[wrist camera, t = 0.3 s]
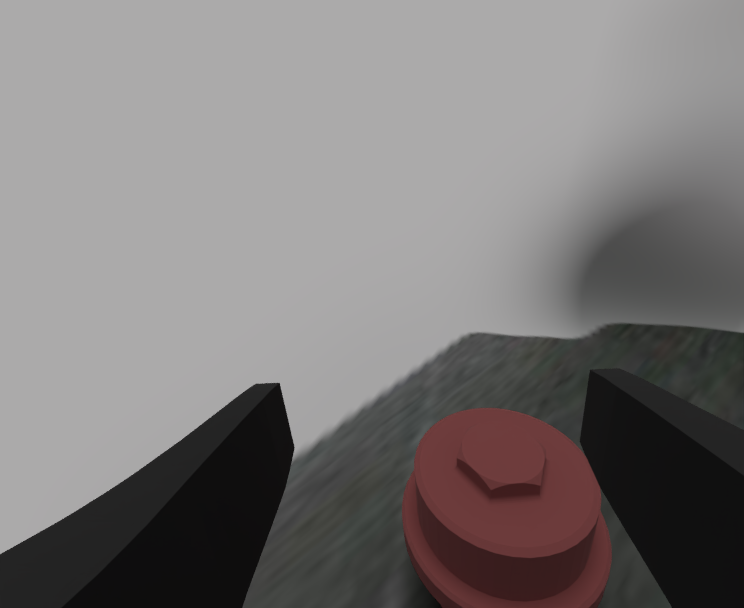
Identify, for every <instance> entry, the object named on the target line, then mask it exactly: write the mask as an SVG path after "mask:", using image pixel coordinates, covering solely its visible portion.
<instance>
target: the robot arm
mask: <svg viewBox="0 0 744 608" xmlns="http://www.w3.org/2000/svg"><path fill="white" fill-rule="evenodd" d="M580 443H581V446H582V448H583V450H584V453H585V455H586V457H587V460H588V462H589V464H590V467H591V469H592V471H593V473H594V475H595V477H596V480H597V482H598V484H599V486H600V488H601V489H602V491H603V493H604V495H605V496H606V498H607V500H608V501H609V503H610V505H611V506H612V508H613V510H614V512H615V513H616V515H617V517H618V518H619V520H620V522H621V523H622V525H623V527H624V528H625V530H626V532H627V533H628V535H629V537H630V538H631V540H632V542H633V543H634V545H635V546H636V548H637V550H638V551H639V553H640V555H641V556H642V558H643V560H644V561H645V563H646V565H647V566H648V568H649V570H650V571H651V573H652V575H653V576H654V578H655V580H656V581H657V583H658V585H659V586H660V588H661V590H662V591H663V593H664V595H665V596H666V598H667V600H668V601H669V603H670V605H671V607H672V608H744V430H742V429H740V428H738V427H736V426H734V425H732V424H730V423H728V422H726V421H724V420H722V419H720V418H718V417H716V416H714V415H713V414H711V413H709V412H707V411H705V410H703V409H701V408H699V407H697V406H695V405H693V404H691V403H689V402H687V401H685V400H683V399H681V398H679V397H677V396H675V395H673V394H671V393H669V392H668V391H666V390H664V389H662V388H660V387H658V386H656V385H654V384H652V383H650V382H648V381H646V380H644V379H642V378H639V377H637V376H635V375H633V374H631V373H629V372H626V371H624V370H622V369H596V370H590V374H589V381H588V388H587V395H586V402H585V409H584V416H583V423H582V430H581V437H580ZM293 453H294V444H293V439H292V436H291V431H290V427H289V422H288V418H287V413H286V409H285V405H284V400H283V396H282V392H281V387H280V383H265V384H255V385H253V386H252V387H250V388H249V389H247V390H246V391H245V392H243V393H242V394H241V395H239V396H238V397H237V398H235V399H234V400H233V401H231V402H230V403H229V404H228V405H226V406H225V407H224V408H222V409H221V410H220V411H219V412H217V413H216V414H215V415H213V416H212V417H211V418H209V419H208V420H207V421H205V422H204V423H203V424H202V425H200V426H199V427H198V428H197V429H195V430H194V431H192V432H191V433H190V434H189V435H187V436H186V437H185V438H183V439H182V440H181V441H179V442H178V443H176V444H175V445H174V446H172V447H171V448H169V449H168V450H167V451H165V452H164V453H163V454H161V455H160V456H158V457H157V458H156V459H154V460H153V461H152V462H150V463H149V464H147V465H146V466H144V467H143V468H142V469H140V470H139V471H138V472H136V473H135V474H133V475H132V476H130V477H129V478H127V479H126V480H124V481H123V482H121V483H120V484H118V485H117V486H115V487H114V488H112V489H110V490H109V491H107V492H106V493H104V494H103V495H101V496H100V497H98V498H96V499H95V500H93V501H91V502H90V503H88V504H87V505H85V506H83V507H82V508H80V509H79V510H77V511H76V512H74V513H72V514H71V515H69V516H67V517H65V518H64V519H62V520H61V521H59V522H57V523H55V524H54V525H52V526H50V527H48V528H46V529H45V530H43V531H41V532H40V533H38V534H36V535H34V536H32V537H31V538H29V539H27V540H25V541H23V542H21V543H20V544H18V545H16V546H14V547H13V548H11V549H9V550H7V551H5V552H4V553H2V554H0V608H242V606H243V603H244V600H245V597H246V594H247V591H248V589H249V586H250V583H251V580H252V578H253V575H254V572H255V570H256V567H257V564H258V562H259V559H260V556H261V553H262V551H263V548H264V545H265V543H266V540H267V537H268V534H269V532H270V529H271V526H272V524H273V521H274V518H275V515H276V513H277V510H278V507H279V504H280V502H281V499H282V496H283V493H284V490H285V487H286V483H287V479H288V475H289V471H290V466H291V462H292V457H293Z"/></svg>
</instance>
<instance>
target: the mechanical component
mask: <svg viewBox="0 0 744 608" xmlns="http://www.w3.org/2000/svg"><path fill="white" fill-rule="evenodd" d="M600 506H601V493H600V486H599V484H598V482H597V480H596V477H595V475H594V473H593V471H592V469H591V467H590V464H589V462H588V460H587V458H586V456H585V455H584V454H583V452H582V451H581V450H580V449H579V448H578V447H577V446H576V445H575V444H574V443H573V442H572V441H571V440H570V439H569V438H568V437H566V436H565V435H564V434H563V433H561V432H560V431H558V430H557V429H555V428H554V427H552V426H550V425H549V424H547V423H545V422H543V421H541V420H539V419H536V418H534V417H531V416H529V415H526V414H523V413H519V412H516V411H511V410H506V409H497V408H477V409H469V410H465V411H460V412H457V413H454V414H452V415H449V416H447V417H445V418H444V419H442V420H440V421H439V422H437V423H436V424H435V425H433V426H432V427H431V428H430V429H429V430H428V431H427V432H426V433H425V435H424V436H423V438H422V439H421V441H420V443H419V446H418V448H417V450H416V455H415V460H414V471H413V472H412V474H411V476H410V478H409V480H408V482H407V485H406V488H405V491H404V496H403V503H402V519H403V528H404V537H405V542H406V546H407V551H408V554H409V556H410V559H411V562H412V565H413V566H414V568H415V570H416V572H417V574H418V576H419V578H420V579H421V581H422V582H423V584H424V585H425V587H426V588H427V589H428V591H429V592H430V593H431V595H432V596H433V597H434V598H435V599H436V600H437V601H438V602H439V603H440V604H441V607H442V608H597V607H598V605H599V603H600V601H601V599H602V597H603V593H604V590H605V587H606V583H607V580H608V577H609V573H610V566H611V560H612V551H611V542H610V537H609V532H608V529H607V526H606V523H605V520H604V518H603V515H602V513H601V512H600Z"/></svg>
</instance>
